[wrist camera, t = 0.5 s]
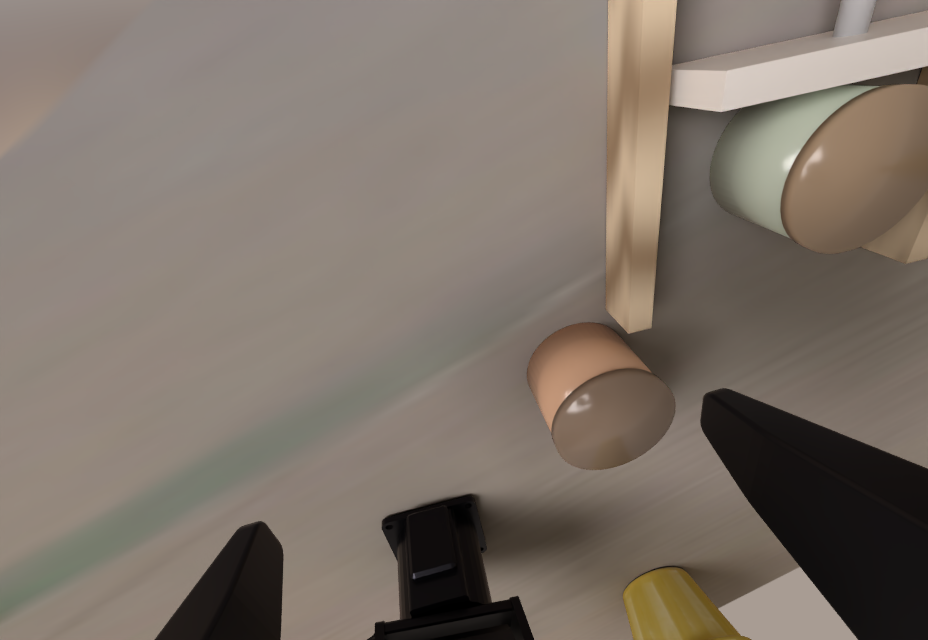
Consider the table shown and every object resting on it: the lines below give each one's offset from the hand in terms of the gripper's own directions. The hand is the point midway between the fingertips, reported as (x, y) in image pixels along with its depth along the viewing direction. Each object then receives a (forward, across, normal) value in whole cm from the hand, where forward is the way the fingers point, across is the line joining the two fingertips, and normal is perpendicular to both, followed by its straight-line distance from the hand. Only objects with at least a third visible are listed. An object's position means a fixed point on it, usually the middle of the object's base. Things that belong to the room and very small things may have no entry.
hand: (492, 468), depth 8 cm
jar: (+13, -7, +10) cm, 18 cm away
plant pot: (+14, -13, +40) cm, 44 cm away
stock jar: (+13, -17, 0) cm, 21 cm away
